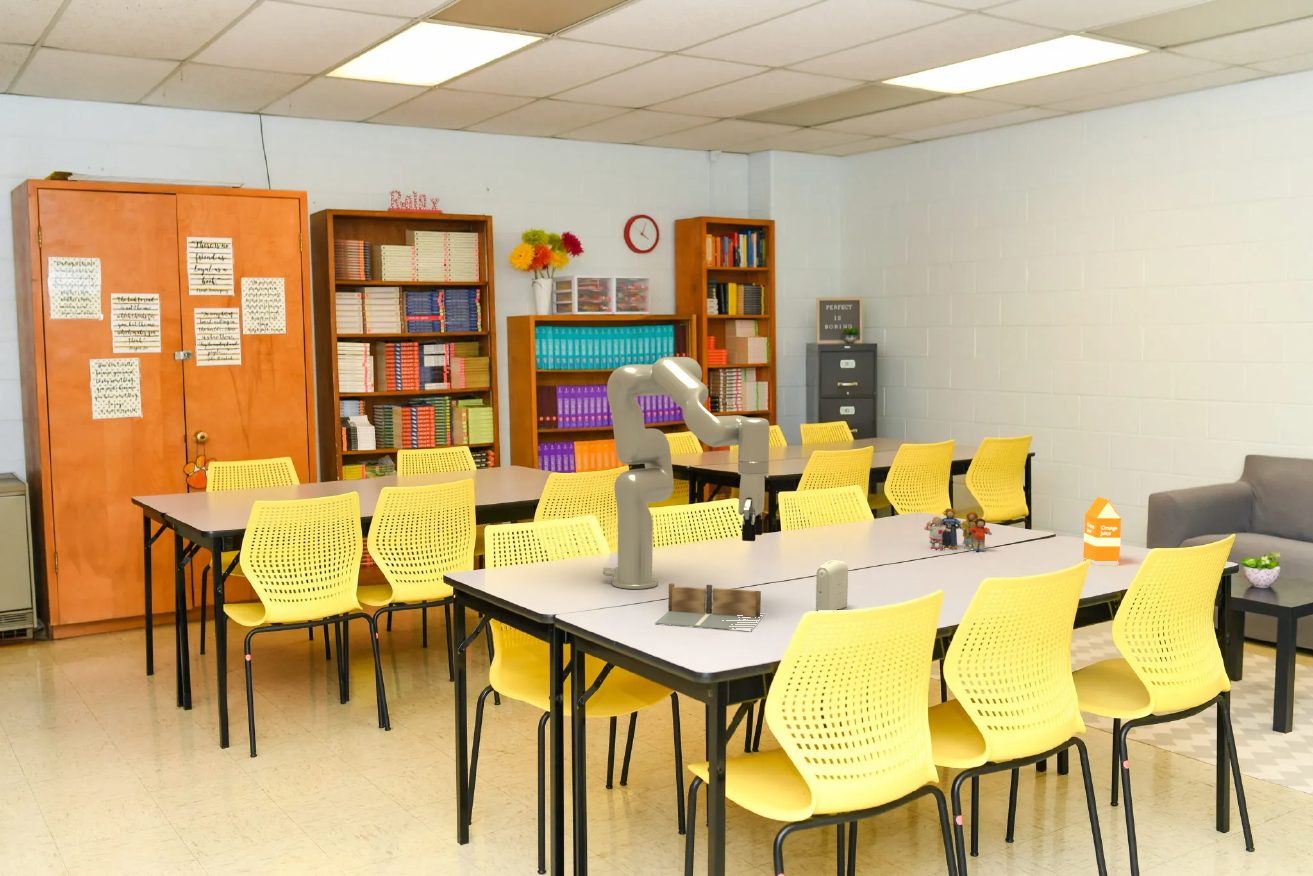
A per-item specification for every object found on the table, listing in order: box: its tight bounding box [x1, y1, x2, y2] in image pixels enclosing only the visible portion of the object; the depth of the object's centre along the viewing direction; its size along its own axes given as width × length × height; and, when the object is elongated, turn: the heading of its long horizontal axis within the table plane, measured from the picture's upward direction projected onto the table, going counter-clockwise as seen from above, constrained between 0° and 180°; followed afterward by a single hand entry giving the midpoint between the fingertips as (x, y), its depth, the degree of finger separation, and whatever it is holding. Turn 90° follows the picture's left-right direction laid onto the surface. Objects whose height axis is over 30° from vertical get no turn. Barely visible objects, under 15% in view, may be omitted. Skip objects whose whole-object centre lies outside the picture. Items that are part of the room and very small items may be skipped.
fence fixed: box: [667, 583, 713, 614], centre depth 275 cm, size 11×1×7 cm, turn 74°
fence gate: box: [712, 587, 762, 617], centre depth 272 cm, size 12×1×6 cm, turn 74°
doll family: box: [923, 508, 993, 553], centre depth 367 cm, size 21×10×13 cm, turn 77°
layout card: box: [654, 608, 765, 630], centre depth 270 cm, size 23×18×1 cm
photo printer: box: [815, 559, 849, 611], centre depth 281 cm, size 10×4×12 cm, turn 140°
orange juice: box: [1082, 496, 1122, 561], centre depth 345 cm, size 8×9×20 cm
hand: (752, 537), depth 277 cm, fingers open, 9 cm apart
